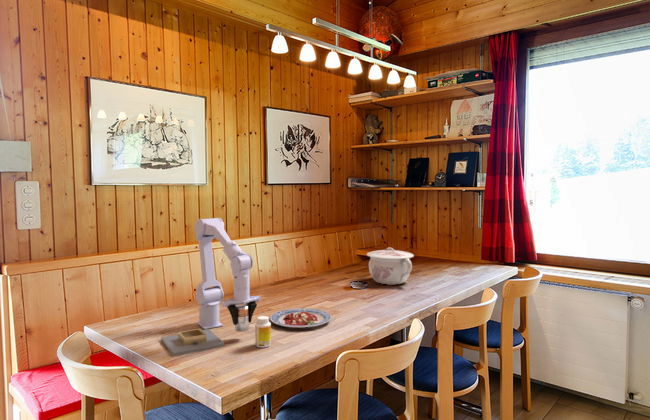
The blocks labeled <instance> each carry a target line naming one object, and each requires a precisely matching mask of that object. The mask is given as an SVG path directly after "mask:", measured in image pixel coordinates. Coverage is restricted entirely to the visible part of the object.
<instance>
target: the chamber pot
mask: <svg viewBox="0 0 650 420" xmlns="http://www.w3.org/2000/svg"><path fill="white" fill-rule="evenodd" d="M366 256H367V257H369V258H370V259H369V261H368V269H369V270H368V271H369V274H370V275H371V277H372V279H373V281H375V283H378V284H380V283H381V284H380V285H383V284H387V285H386V286H397V285H396V284H398V285H401V284H404V283H405V282H406V281H407V279H408V278H409V276H410V274H411V271H412V270H413V263H412V261H411V258H414V257H415V254H413V253H412V252H409V251H404V250H398V249H397V250H396V249H394V248H393V247H387V248H385V249H379V250H378V249H377V250H373V251H369V252H367V253H366Z"/></svg>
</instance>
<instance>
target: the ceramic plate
mask: <svg viewBox="0 0 650 420" xmlns="http://www.w3.org/2000/svg"><path fill="white" fill-rule="evenodd" d="M269 319H270V322H272V323H273V324H276V325H277V326H281V327H287V328H292V329H293V328H295V329H303V328H304V329H305V328H306V327H307V328H312V327H313V328H314V327H318V326H323V325H325V324H327V323H328V322H330V321H331V320H332V315H331V314H330V313H329V312H327V311H325V310H321V309H316V308H307V307H306V308H305V307H304V308H302V307H301V308H299V307H297V308H296V307H295V308H287V309H282V310H278V311H276V312H274V313H273V314H271V315H270V317H269ZM307 328H306V329H307Z"/></svg>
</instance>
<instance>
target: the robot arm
mask: <svg viewBox="0 0 650 420" xmlns="http://www.w3.org/2000/svg"><path fill="white" fill-rule="evenodd" d="M194 230H195V239H196V240H197V241H198V250H199V258H200V268H201V269H200V270H201V278H202V280H201V282H200V283H199V284H198V285H197V286H196V294H195V299H196V302H197V303H198V305H200V306H199V309H198V313H199V315H198V318H199V321H197V322H196V323H197V324H198V325H199V326H200V327H201V329H202V330H206V329H212V328H217V327H223V326H224V324H223V323H221V322H220V304H221V306H222V307H223V308H227V310H228V311H229V314H230V315H231V319H232V324H233V325H234V326H235V325H237V310H238V308H236V305H239V304H247V305H249V324H250V323H252V318H253V315H254V313H255V311H256V308H257V305H258V303H260V302H262V297H261V296H260V295H251V296H250V290H251V289H250V285H251V284H250V283H251V282H250V270H251V269H252V267H253V264H254V263H253V258H252V256H251V254H249V253H246V252H244V251H243V250H242V249H241V247H240V246H239V245H238V243H237V242H236V241H233V240H231V238H230V237H229V235H228V233H227V231H226V230H225V222H224V221H223V219H221V217H214V218H212V217H211V218H198V219H197V220H196V222H195V224H194ZM215 238H216V239H217V241H218V242H219V243H220V244H221V245H222V246H223V247H222V251H223V252H224V254H225V255H226V257H227V258H228V260H229V261H230V269H231V272H232V276H233V298H229V299H226V300H224V296H225V294H224V289H223V287H222V283H221V282H220V281H219V280H217V279H216V273H215V272H216V271H215V270H216V269H215V261H214V260H215V259H214V253H213V244H212V243H213V242H212V241H213V240H214V239H215Z"/></svg>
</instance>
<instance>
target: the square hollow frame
mask: <svg viewBox="0 0 650 420" xmlns="http://www.w3.org/2000/svg"><path fill="white" fill-rule="evenodd" d="M202 330H203V329H202V328H194V329H189V330H184V331H178V332H177V335H178V340H179V341H180V342H181V343H182V344H183V345H184V346H186V345H191V344H194V345H197V344H198V343H201V342H207V335H206V334H205V333H204V332H203V331H202Z"/></svg>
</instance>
